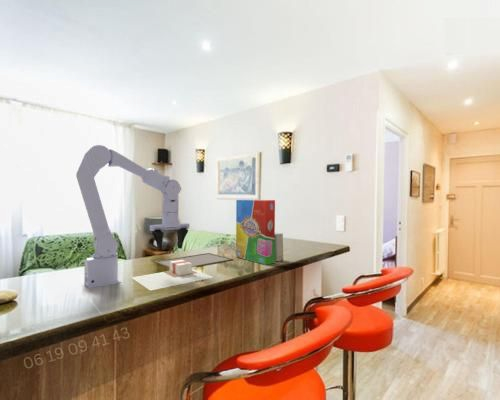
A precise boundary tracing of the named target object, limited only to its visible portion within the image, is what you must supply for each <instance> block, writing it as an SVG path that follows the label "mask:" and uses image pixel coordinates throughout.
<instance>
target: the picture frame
mask: <svg viewBox="0 0 500 400" xmlns="http://www.w3.org/2000/svg"><path fill="white" fill-rule="evenodd" d="M177 260H184V261H187V262H189V263H192V268H193V267H197V268H198V267H203V266H208V265H214V264H220V263H226V262H230V261H234V258H231V257H226V256H223V255H220V254H215V253H212V252H205V253H199V254H193V255H187V256H181V257H174V258H168V259H161V260H154V263H155V264H157V265H161V266H163V267H167V268H170V261H177Z"/></svg>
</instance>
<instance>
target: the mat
mask: <svg viewBox="0 0 500 400" xmlns="http://www.w3.org/2000/svg"><path fill="white" fill-rule="evenodd" d="M212 278H214V277H213V276H211V275H209V274H206V273H203V272H201V271H199V270H196V269H193V268H192V273H191V274H186V275H180V276H178V275H176V274H174V273H172V272H170V270H167V271H162V272H161V271H160V272H156V273H150V274H143V275H139V276H138V275H137V276H132V277H130V279H133V281H134V282H135V281H136V282H137V283H138V284H140V285H141V286H142V287H144V288H146V289H147V290H148V291H154V290H156V291H157V290H160V289H164V288H169V287H174V286H179V285H184V284H189V283H193V282H198V281H203V280H207V279H212Z"/></svg>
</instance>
